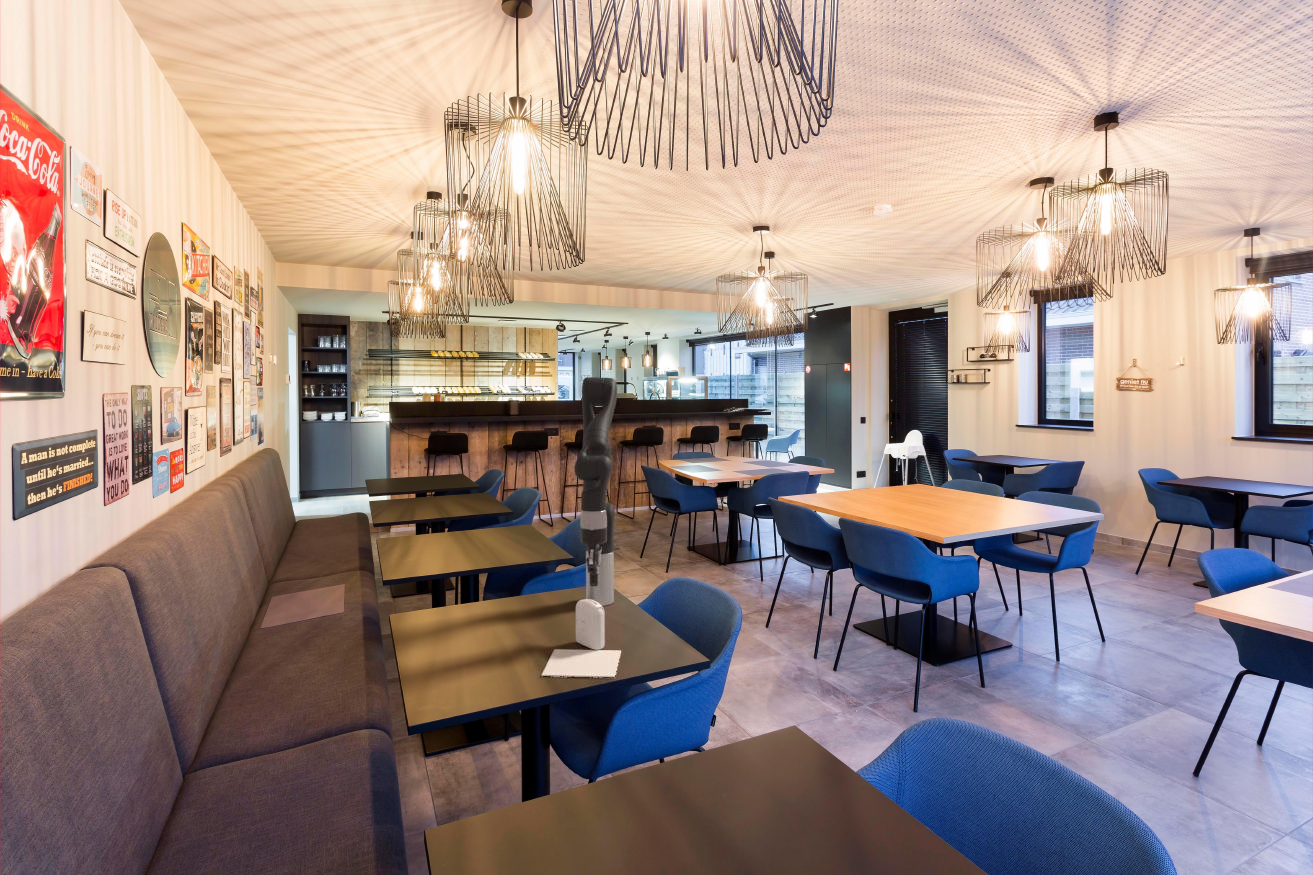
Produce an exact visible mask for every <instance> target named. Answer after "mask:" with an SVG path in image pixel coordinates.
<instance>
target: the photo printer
mask: <svg viewBox="0 0 1313 875" xmlns="http://www.w3.org/2000/svg"><path fill="white" fill-rule="evenodd" d="M605 633H606V613H605V609H604V606H601V605H600V604H599V603H598V602H596V601H594V600H591V599H586V598H584V599H580V600H578V601H577V603H576V605H575V642H576V643H579V644H580V645H582V646H585V647H587V648H589V649H590V650H603V649H604V647H605V646H606V634H605Z"/></svg>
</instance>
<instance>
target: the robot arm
mask: <svg viewBox="0 0 1313 875" xmlns="http://www.w3.org/2000/svg"><path fill="white" fill-rule="evenodd" d="M617 383H618V382H617V381H616V379H615V378H613V377H598V376H596V377H595V376H593V377H592V376H589V377H588V376H587V377H584V379H583V380H582V385H581V399H582V400H581V402H582V403H581V404H582V422H583V423H582V424H583V426H582V428H583V430H582V431H583V433H582V435H583V436H582V449H581V451H580V453H579V454H578V456H577V458H576V460H575V464H574V467H573V468H574V469H573V470H574V474H575V476H576V478H577V479H578V480H580V481H582V484H583V485H582V491H581V495H580V496H581V497H580V500H581V502H580V505H581V506H580V507H581V509H580V510H581V511H580V520H579V521H580V525H579V526H580V543H582V544H584V545H585V562H586V563H585V569H586V570H585V575H586V576H585V578H586V579H585V581H586V582H585V591H586V592H585V599H591V600H594V601H596V602H598V603H599V604H600V605H601V606H602V607H604V606H610V605H611V604H613V603H614V602H615V600H614V599H615V598H614V597H615V593H614V592H615V584H614V583H615V578H614V577H615V576H614V573H615V572H614V571H615V570H614V568H615V562H614V560H615V556H614V555H615V554H614V551H615V550H614V549H615V547H614V543H615V542H614V538H615V537H614V536H615V534H614V533H615V532H614V531H615V519H616V518H615V515H616V514H615V507H614V505H613V504H612V503H611V502H609V503H608V502H607V490H608V485H609V483H610V482H609V481H610V478H611V475H612V470H613V462H612V446H611V443H610V441H609V437H610V429H611V424H612V421H613V417H614V412H615V408H616V404H617V399H618V385H617ZM593 407H602V409H601V410H600V411H599V413H598V414H597V415H596V416H595V413H594V408H593Z"/></svg>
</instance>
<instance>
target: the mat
mask: <svg viewBox="0 0 1313 875" xmlns="http://www.w3.org/2000/svg"><path fill="white" fill-rule="evenodd" d="M621 653H622V650H621V649H620V650H615V649H614V650H613V649H610V650H609V649H607V650H606V649H604V650H603V649H599V650H595V649H559V648H558V649H557V648H556V649H555V648H554V649H553V652H552V654H551V656H550V658H549V659H548V661H547V663H546V666H545V667H544V669H543V671H542V673H541V677H542V676H551V677H550V678H567V677H572V676H574V677H590V678H589V679H603V678H602V677H615V675H616V676H617V672H618V668H617V667H619V664H620V660H619V659H621V655H622V654H621ZM618 663H619V664H618ZM616 671H617V672H616ZM552 676H553V677H552ZM560 676H562V677H560ZM563 676H564V677H563ZM591 677H593V678H591ZM598 677H599V678H598ZM615 678H616V677H615Z"/></svg>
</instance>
